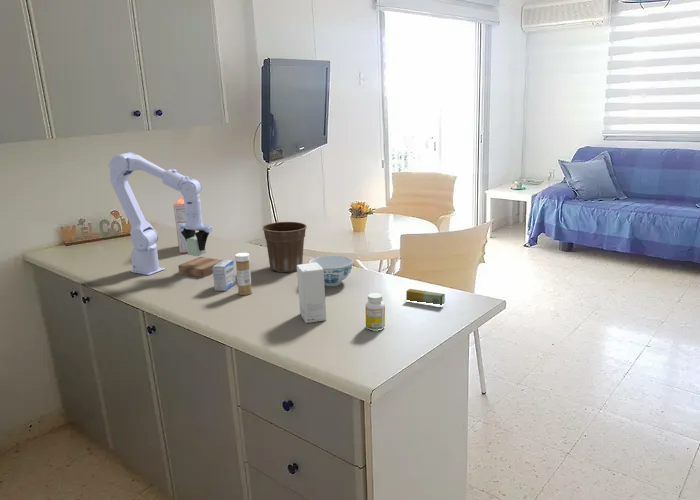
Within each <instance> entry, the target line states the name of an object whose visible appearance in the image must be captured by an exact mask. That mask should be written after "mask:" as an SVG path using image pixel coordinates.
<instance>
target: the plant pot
mask: <svg viewBox="0 0 700 500" xmlns="http://www.w3.org/2000/svg"><path fill="white" fill-rule="evenodd" d="M262 230H263V233H264V238H265V242H266V249H267V255H268V261H269V262H268V263H269V269H270V270H271V271H273V272H275V271H276V272H277V273H291V272H297V265H300V264H304V263H303V260H304V257H303V256H304V245H305V244H304V243H305V237H306V230H307V224H305V223H303V222H297V221H279V222H272V223H266V224H264V225H263V226H262Z"/></svg>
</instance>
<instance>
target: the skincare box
mask: <svg viewBox="0 0 700 500" xmlns="http://www.w3.org/2000/svg"><path fill="white" fill-rule="evenodd" d="M296 276H297V289H298V300H299V313H300V316H301V318H302V319H303V321H304V322H305V324H310V323H317V322H318V321H319V322H323V321H327V307H326V306H327V305H326V291H325V289H326V288H325V285H324V270H323V268H322V267H321V266H320V265H319V264H318V263H317V262H316V263H309V262H308V263H302V264H300V265H297V270H296Z"/></svg>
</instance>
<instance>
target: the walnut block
mask: <svg viewBox="0 0 700 500" xmlns="http://www.w3.org/2000/svg"><path fill="white" fill-rule="evenodd" d="M222 260H223V259H217V258H212V257H203V256H198V257H196V258H193V259H191V260H188V261H186V262H183V263H181V264H178V265H177V266H178V267H177V268H178V273H179V274H182V275H183V274H184V275H188V276H193V277H200V278H206V277H208V276H211V275H213V268H212V267H213V266H215V265H216V264H217V263H219V262H220V261H222Z"/></svg>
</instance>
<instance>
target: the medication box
mask: <svg viewBox="0 0 700 500" xmlns="http://www.w3.org/2000/svg"><path fill="white" fill-rule="evenodd" d="M445 296H446V294H445V293H440V292H434V291H426V290H421V289H420V290H419V289H413V288H409V289H407V290H406V295H405V297H406V300H410V301H417V302H426V303H433V304H440V305H442V304H444V303H446V302H445V301H446V299H445V298H446V297H445ZM406 300H405V301H406Z"/></svg>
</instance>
